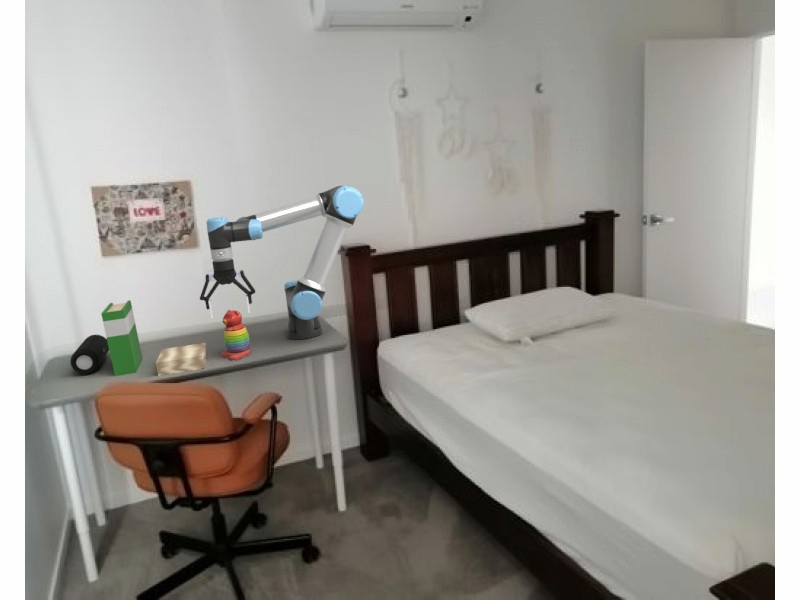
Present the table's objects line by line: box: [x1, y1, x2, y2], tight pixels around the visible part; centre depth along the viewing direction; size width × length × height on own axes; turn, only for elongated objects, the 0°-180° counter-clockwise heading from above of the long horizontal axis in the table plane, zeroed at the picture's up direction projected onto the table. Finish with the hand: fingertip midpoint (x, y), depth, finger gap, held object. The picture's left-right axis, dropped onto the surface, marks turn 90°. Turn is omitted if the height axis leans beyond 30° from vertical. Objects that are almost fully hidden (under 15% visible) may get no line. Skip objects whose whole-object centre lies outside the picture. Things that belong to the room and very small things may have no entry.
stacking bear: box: [221, 309, 252, 361], centre depth 229 cm, size 11×10×18 cm
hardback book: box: [100, 300, 143, 377], centre depth 227 cm, size 18×7×24 cm, turn 16°
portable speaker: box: [70, 334, 110, 375], centre depth 235 cm, size 26×10×10 cm, turn 16°
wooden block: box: [155, 342, 208, 377], centre depth 225 cm, size 16×17×5 cm
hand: (230, 314), depth 227 cm, fingers open, 13 cm apart
